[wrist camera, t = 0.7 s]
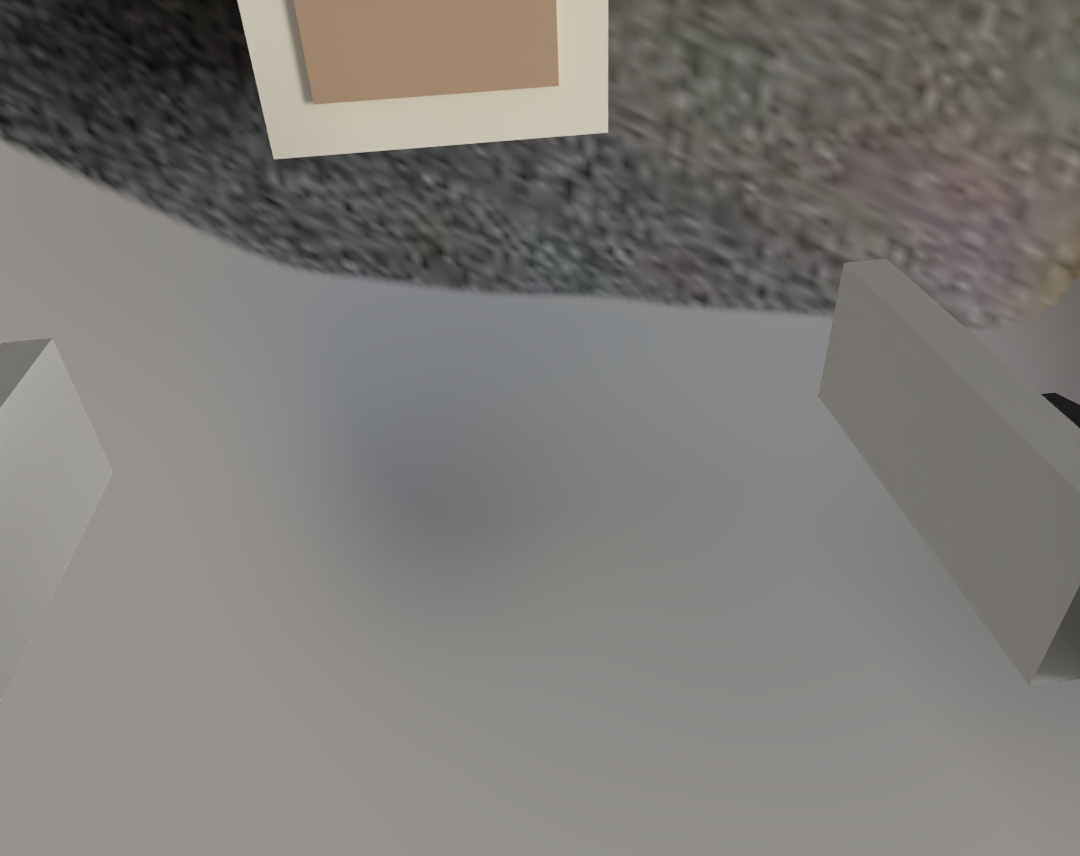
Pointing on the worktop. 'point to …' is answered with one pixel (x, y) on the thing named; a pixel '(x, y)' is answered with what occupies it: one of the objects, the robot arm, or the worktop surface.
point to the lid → (425, 72)
